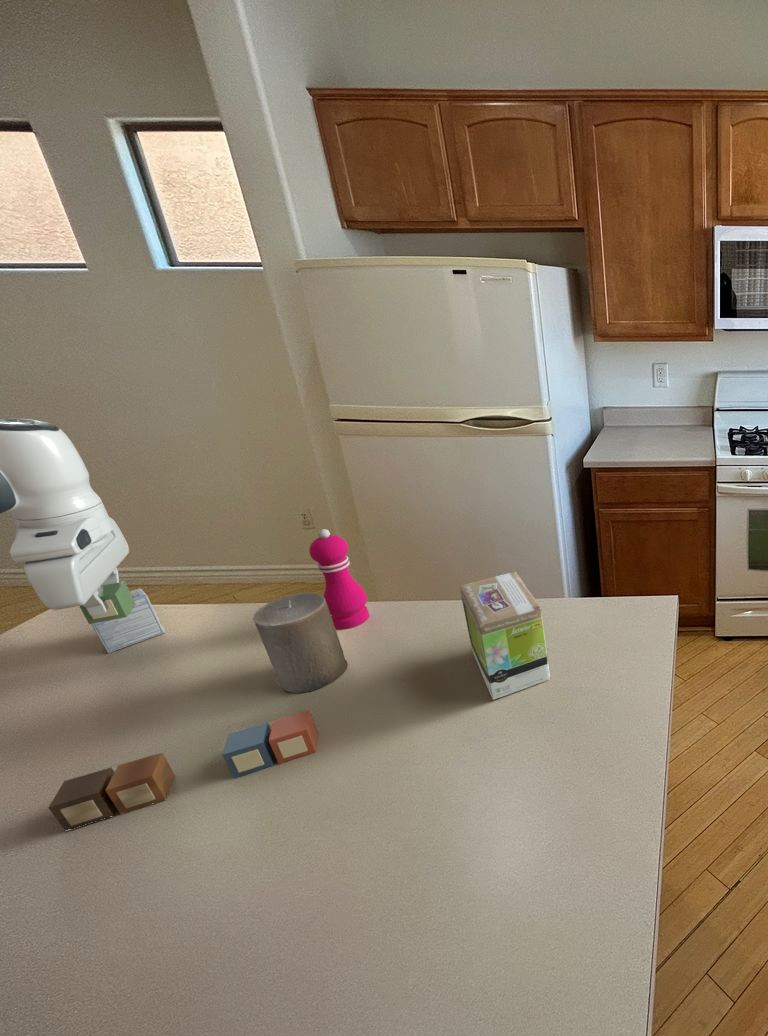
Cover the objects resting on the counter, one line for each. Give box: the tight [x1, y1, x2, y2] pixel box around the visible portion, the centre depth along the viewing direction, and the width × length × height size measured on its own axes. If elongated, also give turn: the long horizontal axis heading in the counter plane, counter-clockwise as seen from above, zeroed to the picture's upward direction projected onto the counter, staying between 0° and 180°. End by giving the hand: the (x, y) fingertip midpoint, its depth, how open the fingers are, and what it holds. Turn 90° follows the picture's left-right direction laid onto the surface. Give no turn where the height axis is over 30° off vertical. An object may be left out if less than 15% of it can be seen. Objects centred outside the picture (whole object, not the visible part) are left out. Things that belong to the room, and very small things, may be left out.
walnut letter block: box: [48, 766, 118, 831], centre depth 70 cm, size 4×5×4 cm
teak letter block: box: [105, 752, 176, 815], centre depth 72 cm, size 4×5×4 cm
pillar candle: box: [252, 591, 348, 694], centre depth 92 cm, size 10×10×15 cm
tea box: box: [459, 571, 551, 701], centre depth 95 cm, size 15×10×15 cm
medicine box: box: [91, 588, 166, 654], centre depth 102 cm, size 8×4×9 cm, turn 144°
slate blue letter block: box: [222, 722, 276, 779], centre depth 77 cm, size 4×5×4 cm
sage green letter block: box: [79, 581, 136, 625], centre depth 89 cm, size 4×5×4 cm
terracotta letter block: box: [269, 709, 319, 764], centre depth 80 cm, size 4×5×4 cm
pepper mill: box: [308, 528, 370, 630], centre depth 106 cm, size 7×7×20 cm
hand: (107, 604), depth 89 cm, fingers closed on sage green letter block, 4 cm apart
